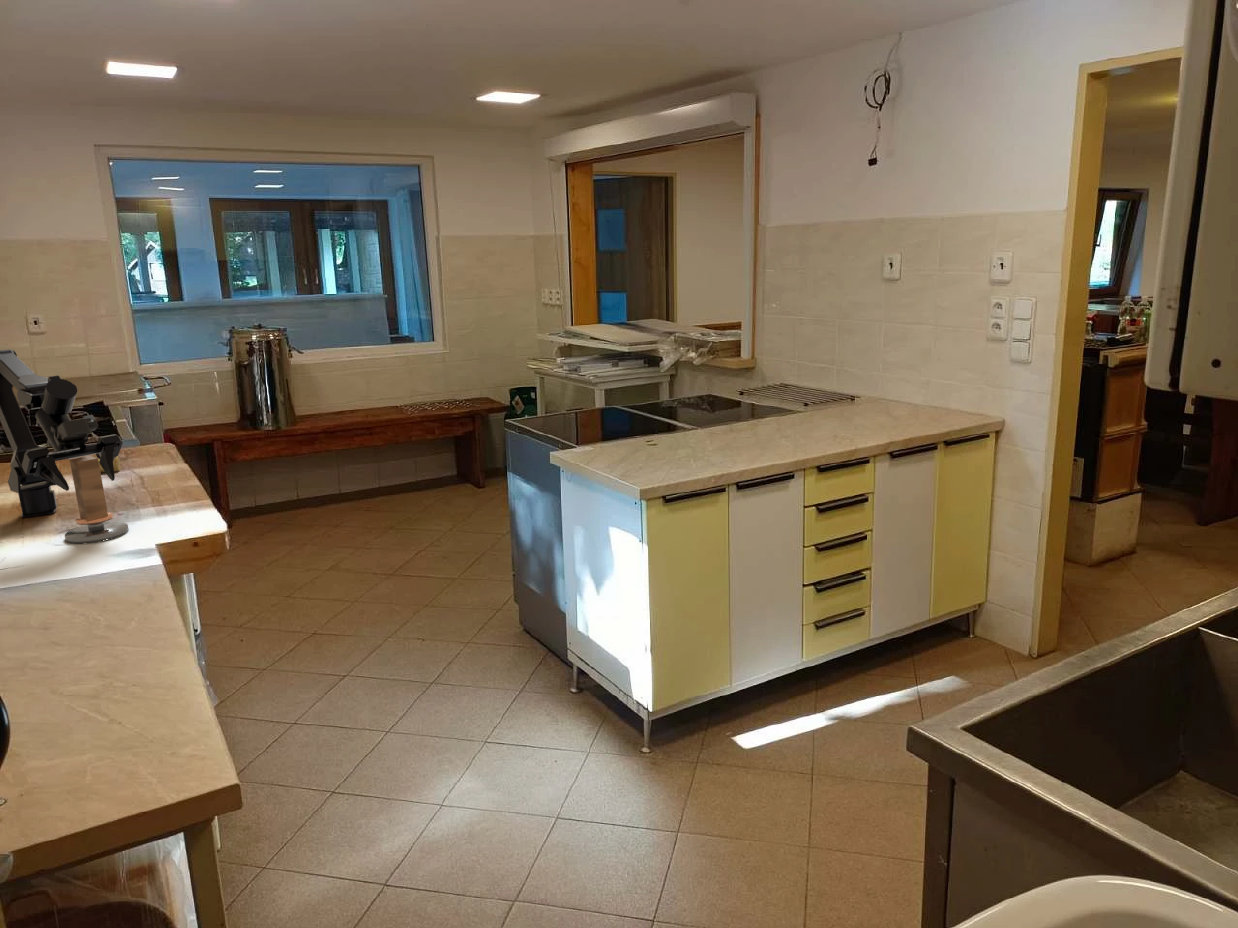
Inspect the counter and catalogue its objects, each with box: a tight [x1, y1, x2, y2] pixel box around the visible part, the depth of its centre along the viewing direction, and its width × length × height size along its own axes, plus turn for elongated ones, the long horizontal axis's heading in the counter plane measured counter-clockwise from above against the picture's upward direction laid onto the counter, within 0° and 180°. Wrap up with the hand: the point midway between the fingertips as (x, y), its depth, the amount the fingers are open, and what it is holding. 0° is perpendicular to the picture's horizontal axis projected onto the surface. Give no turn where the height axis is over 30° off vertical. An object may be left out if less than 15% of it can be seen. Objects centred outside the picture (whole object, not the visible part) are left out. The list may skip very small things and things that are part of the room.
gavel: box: [98, 455, 122, 473], centre depth 255 cm, size 21×5×10 cm
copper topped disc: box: [64, 511, 129, 545], centre depth 192 cm, size 12×12×4 cm
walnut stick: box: [69, 455, 108, 521], centre depth 190 cm, size 4×4×13 cm
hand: (91, 484), depth 189 cm, fingers open, 9 cm apart
